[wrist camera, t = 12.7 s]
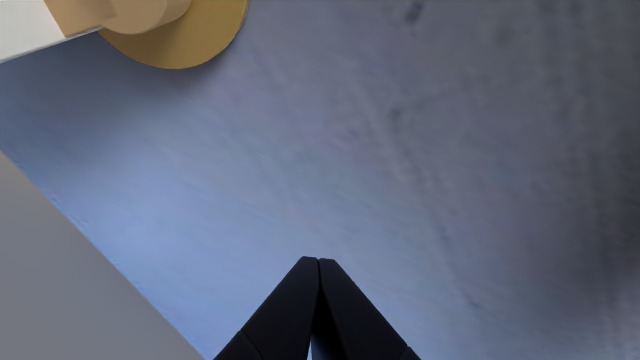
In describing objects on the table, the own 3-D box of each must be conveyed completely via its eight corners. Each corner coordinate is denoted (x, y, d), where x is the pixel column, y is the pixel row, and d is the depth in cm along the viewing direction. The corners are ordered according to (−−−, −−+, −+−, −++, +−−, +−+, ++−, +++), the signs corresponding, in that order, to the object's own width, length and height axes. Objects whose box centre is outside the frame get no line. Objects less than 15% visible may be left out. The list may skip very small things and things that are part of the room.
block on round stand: (171, -84, 16) (68, -108, 10) (208, 9, 18) (140, 38, 12) (-79, 11, 18) (-288, 40, 12) (-24, 85, 20) (-184, 144, 14)
